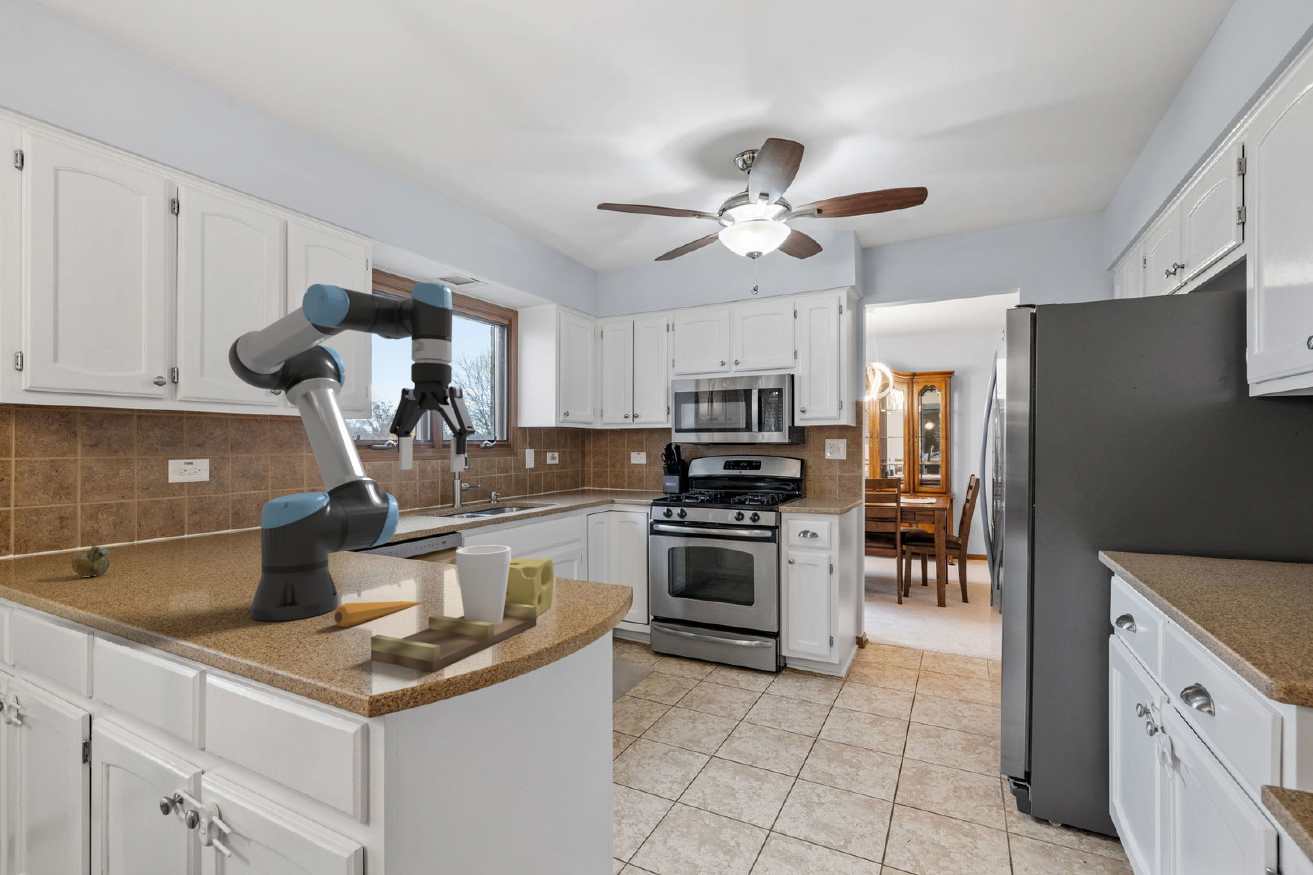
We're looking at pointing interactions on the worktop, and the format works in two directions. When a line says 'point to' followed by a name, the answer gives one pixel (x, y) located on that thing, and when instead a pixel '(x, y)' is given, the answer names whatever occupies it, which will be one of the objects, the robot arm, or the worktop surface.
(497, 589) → the foam cup
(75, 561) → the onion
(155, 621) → the worktop surface
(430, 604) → the worktop surface
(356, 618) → the carrot
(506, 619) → the rack
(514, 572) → the cheese
